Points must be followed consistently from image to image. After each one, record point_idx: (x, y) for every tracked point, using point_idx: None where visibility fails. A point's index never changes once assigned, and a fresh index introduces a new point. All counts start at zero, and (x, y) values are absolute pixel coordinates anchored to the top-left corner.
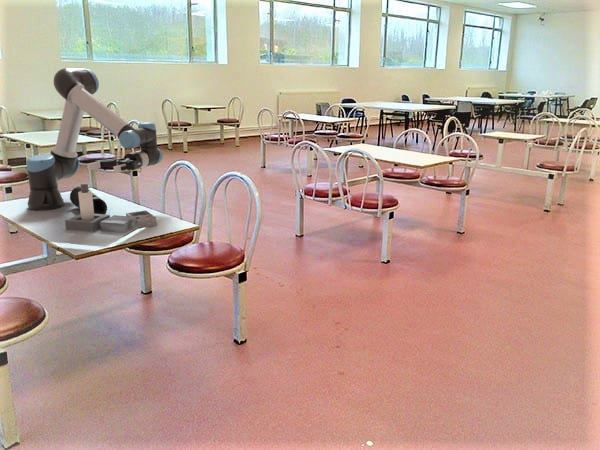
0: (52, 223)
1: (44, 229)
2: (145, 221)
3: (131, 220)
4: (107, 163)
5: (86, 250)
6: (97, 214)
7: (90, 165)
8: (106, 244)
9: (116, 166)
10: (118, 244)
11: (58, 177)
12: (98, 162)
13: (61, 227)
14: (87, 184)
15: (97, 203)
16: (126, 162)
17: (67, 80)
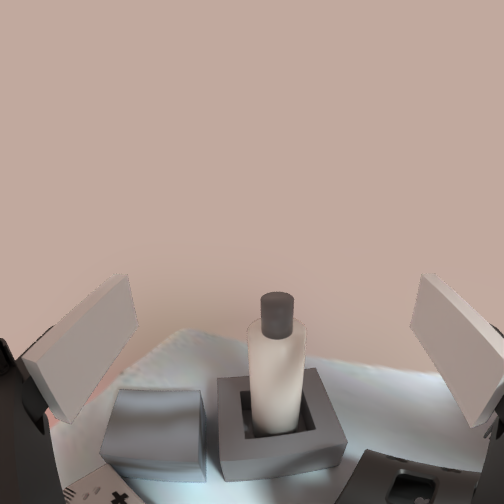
0: (429, 418)
1: (389, 386)
2: (84, 479)
3: (108, 427)
4: (496, 483)
5: (177, 339)
6: (274, 450)
7: (428, 300)
8: (152, 367)
9: (104, 284)
10: (126, 371)
11: None
12: (492, 355)
13: (371, 414)
14: (265, 304)
15: None
16: (5, 343)
17: None
